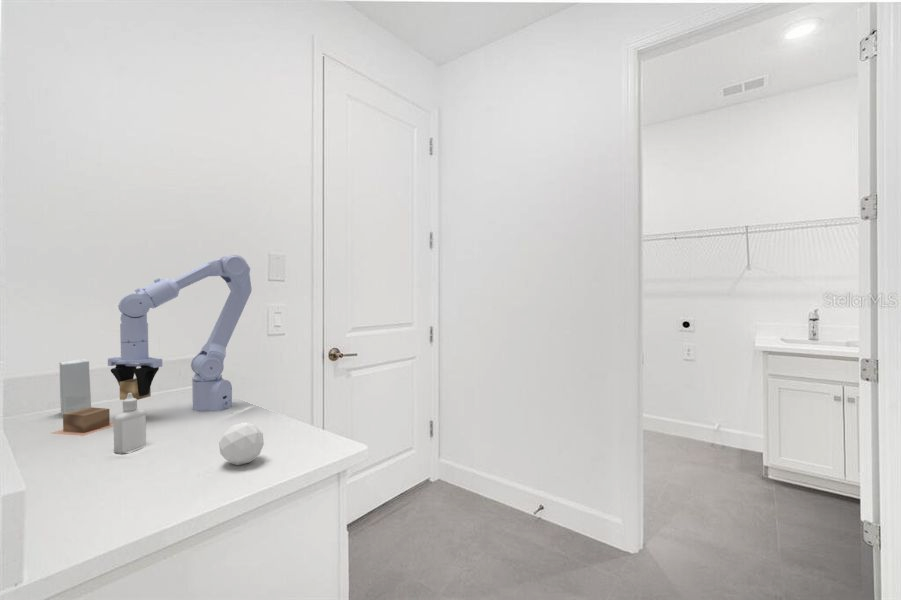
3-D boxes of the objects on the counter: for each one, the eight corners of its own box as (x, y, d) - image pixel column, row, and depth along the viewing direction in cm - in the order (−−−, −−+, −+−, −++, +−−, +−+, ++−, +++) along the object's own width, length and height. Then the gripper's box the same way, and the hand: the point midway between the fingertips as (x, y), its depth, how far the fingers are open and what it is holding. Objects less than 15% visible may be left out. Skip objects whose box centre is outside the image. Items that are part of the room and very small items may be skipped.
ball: (242, 480, 84) (228, 457, 79) (219, 457, 87) (204, 434, 83) (276, 452, 88) (265, 428, 83) (253, 431, 92) (241, 407, 87)
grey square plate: (165, 419, 114) (165, 416, 114) (103, 441, 97) (103, 437, 97) (114, 416, 117) (114, 413, 117) (45, 436, 101) (45, 432, 101)
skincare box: (91, 417, 116) (91, 361, 116) (61, 422, 112) (60, 363, 111) (88, 411, 122) (88, 357, 122) (59, 415, 118) (58, 360, 117)
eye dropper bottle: (148, 449, 92) (148, 392, 92) (115, 456, 88) (114, 397, 88) (144, 444, 95) (143, 389, 95) (112, 451, 91) (111, 393, 91)
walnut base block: (109, 425, 106) (109, 408, 106) (84, 433, 100) (84, 415, 100) (89, 423, 107) (89, 407, 107) (63, 431, 101) (62, 414, 101)
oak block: (150, 396, 113) (150, 378, 113) (134, 400, 109) (134, 382, 109) (136, 395, 114) (135, 378, 114) (119, 399, 110) (119, 381, 110)
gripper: (95, 342, 109) (96, 397, 109) (144, 343, 106) (145, 399, 106) (122, 339, 116) (122, 390, 116) (169, 340, 113) (169, 393, 113)
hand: (135, 394), depth 112 cm, fingers closed on oak block, 4 cm apart
